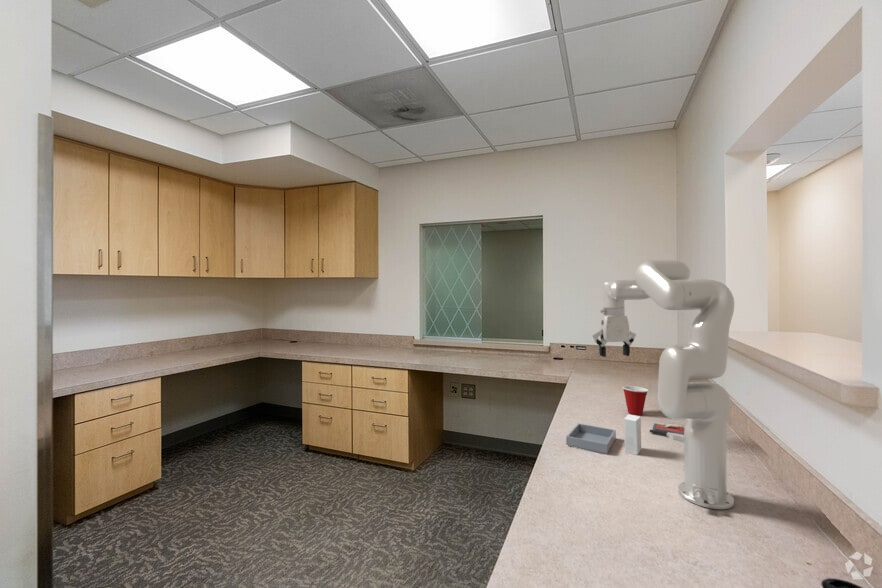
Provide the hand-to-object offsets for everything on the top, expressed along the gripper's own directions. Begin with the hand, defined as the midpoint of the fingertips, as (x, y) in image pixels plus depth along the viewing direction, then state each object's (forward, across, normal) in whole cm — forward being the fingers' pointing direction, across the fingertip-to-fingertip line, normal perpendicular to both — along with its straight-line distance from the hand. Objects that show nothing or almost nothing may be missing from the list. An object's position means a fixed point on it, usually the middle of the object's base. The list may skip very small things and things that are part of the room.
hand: (614, 355), depth 149 cm
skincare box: (+31, -2, -15) cm, 35 cm away
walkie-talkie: (+32, +23, -6) cm, 39 cm away
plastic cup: (+31, +23, +22) cm, 45 cm away
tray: (+31, -13, -5) cm, 34 cm away
